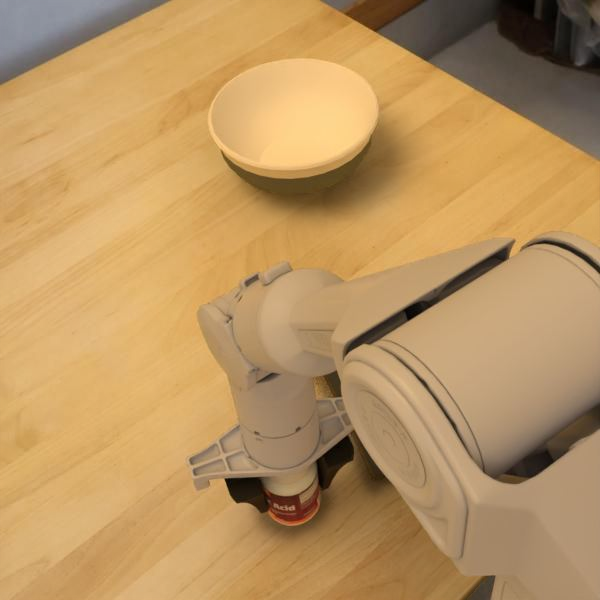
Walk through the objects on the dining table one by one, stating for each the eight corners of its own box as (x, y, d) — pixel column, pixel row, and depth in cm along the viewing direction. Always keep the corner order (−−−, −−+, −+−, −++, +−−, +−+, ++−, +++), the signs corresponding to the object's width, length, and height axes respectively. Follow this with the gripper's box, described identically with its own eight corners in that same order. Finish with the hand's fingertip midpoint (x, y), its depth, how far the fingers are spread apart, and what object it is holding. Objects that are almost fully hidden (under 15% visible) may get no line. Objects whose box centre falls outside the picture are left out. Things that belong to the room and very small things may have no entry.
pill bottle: (254, 509, 72) (241, 461, 66) (286, 466, 74) (277, 416, 68) (300, 538, 70) (291, 492, 64) (332, 493, 73) (327, 444, 66)
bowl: (382, 222, 92) (382, 165, 86) (210, 226, 93) (198, 170, 87) (378, 111, 104) (377, 53, 97) (225, 116, 105) (215, 60, 99)
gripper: (349, 328, 64) (353, 422, 74) (162, 393, 61) (195, 480, 72) (387, 402, 60) (387, 490, 70) (189, 475, 57) (219, 555, 68)
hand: (291, 490), depth 71 cm, fingers closed on pill bottle, 5 cm apart
